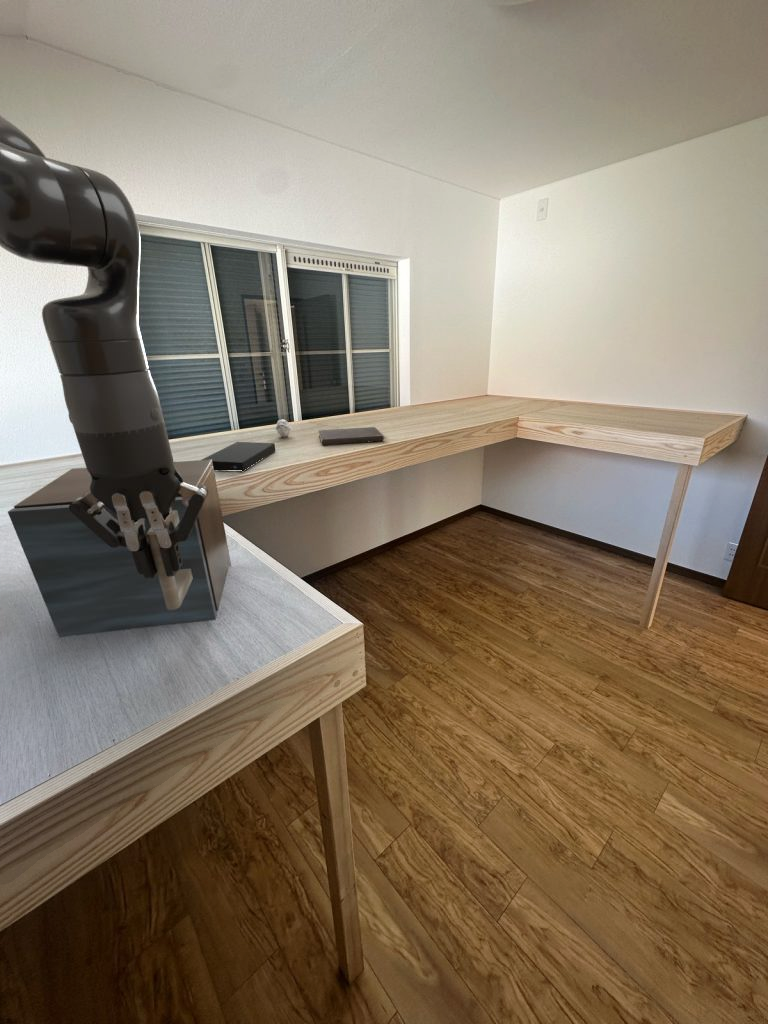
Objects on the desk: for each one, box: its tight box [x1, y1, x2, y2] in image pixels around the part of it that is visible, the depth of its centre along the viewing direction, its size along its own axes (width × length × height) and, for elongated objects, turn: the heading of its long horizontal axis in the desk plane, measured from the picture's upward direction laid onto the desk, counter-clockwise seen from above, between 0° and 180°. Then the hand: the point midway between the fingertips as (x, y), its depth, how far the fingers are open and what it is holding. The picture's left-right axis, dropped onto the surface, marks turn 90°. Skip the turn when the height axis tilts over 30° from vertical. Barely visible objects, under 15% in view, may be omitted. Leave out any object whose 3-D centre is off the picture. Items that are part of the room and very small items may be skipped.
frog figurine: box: [275, 418, 292, 438], centre depth 164 cm, size 6×7×7 cm
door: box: [7, 497, 218, 638], centre depth 51 cm, size 8×20×20 cm, turn 100°
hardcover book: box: [317, 426, 385, 446], centre depth 160 cm, size 16×23×2 cm
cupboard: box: [13, 459, 232, 612], centre depth 62 cm, size 15×20×20 cm
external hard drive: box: [201, 441, 276, 472], centre depth 135 cm, size 14×23×3 cm, turn 170°
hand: (162, 573), depth 47 cm, fingers closed on door
